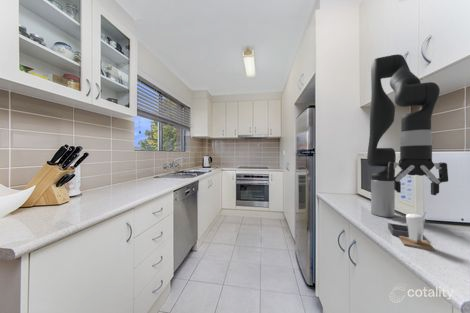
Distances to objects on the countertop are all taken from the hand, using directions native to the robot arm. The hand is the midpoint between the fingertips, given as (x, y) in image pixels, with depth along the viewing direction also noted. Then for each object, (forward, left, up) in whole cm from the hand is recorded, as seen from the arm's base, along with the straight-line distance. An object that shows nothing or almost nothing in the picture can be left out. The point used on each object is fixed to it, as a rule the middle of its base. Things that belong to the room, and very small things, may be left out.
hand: (415, 193), depth 61 cm
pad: (0, 0, -17) cm, 17 cm away
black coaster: (-8, -1, -17) cm, 19 cm away
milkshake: (0, 0, -16) cm, 16 cm away
